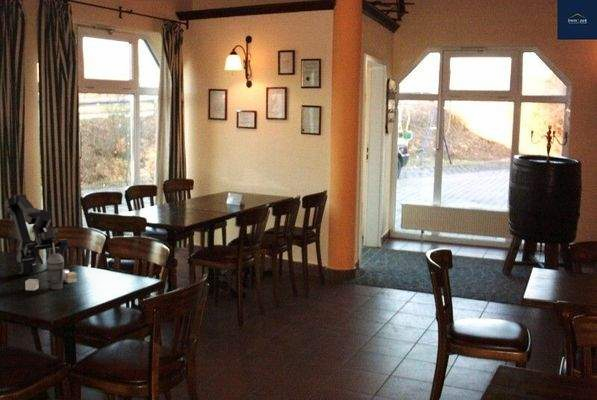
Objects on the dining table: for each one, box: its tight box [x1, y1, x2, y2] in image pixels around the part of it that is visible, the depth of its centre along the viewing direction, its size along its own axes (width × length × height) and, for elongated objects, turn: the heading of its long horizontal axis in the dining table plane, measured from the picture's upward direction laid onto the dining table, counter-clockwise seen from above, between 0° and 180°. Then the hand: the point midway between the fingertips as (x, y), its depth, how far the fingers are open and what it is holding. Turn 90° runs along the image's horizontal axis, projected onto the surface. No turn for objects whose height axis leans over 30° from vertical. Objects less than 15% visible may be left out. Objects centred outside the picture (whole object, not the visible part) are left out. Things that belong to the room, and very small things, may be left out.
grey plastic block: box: [24, 278, 40, 291], centre depth 283 cm, size 4×4×4 cm
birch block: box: [64, 271, 78, 284], centre depth 296 cm, size 4×4×4 cm
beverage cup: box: [46, 242, 65, 290], centre depth 284 cm, size 7×7×20 cm
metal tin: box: [63, 268, 70, 282], centre depth 299 cm, size 6×6×4 cm
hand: (52, 262), depth 286 cm, fingers open, 9 cm apart
